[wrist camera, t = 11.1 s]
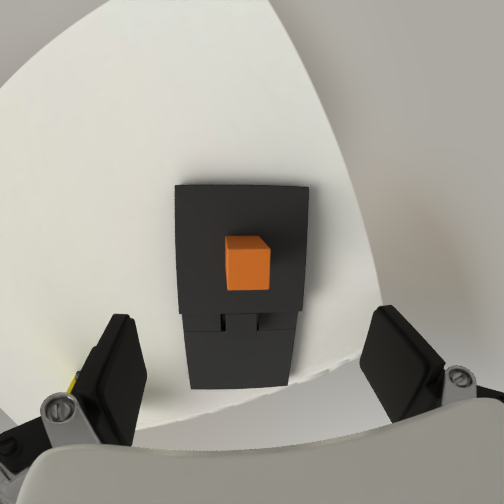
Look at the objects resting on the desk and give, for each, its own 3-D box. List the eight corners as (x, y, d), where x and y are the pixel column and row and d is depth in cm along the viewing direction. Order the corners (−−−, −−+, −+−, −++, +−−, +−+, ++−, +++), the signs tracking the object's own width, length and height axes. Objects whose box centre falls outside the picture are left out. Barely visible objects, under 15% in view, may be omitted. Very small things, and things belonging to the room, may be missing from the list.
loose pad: (296, 328, 30) (318, 367, 22) (182, 331, 28) (173, 373, 21) (304, 187, 27) (334, 186, 20) (177, 185, 25) (160, 183, 18)
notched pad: (285, 378, 35) (287, 385, 33) (191, 381, 33) (191, 389, 32) (295, 297, 31) (298, 304, 29) (182, 299, 29) (181, 307, 28)
